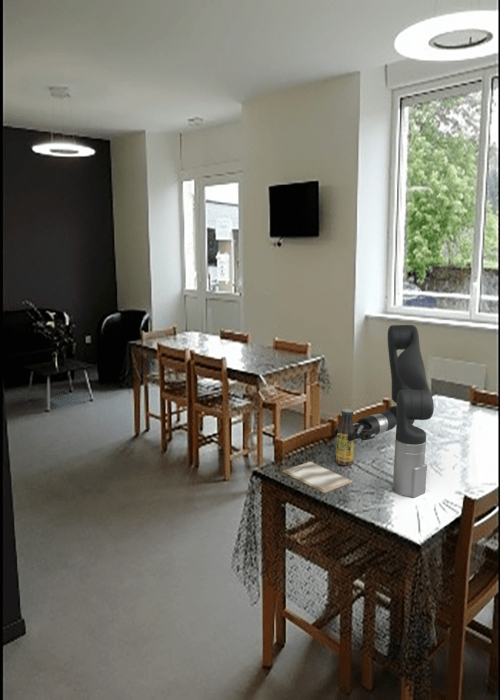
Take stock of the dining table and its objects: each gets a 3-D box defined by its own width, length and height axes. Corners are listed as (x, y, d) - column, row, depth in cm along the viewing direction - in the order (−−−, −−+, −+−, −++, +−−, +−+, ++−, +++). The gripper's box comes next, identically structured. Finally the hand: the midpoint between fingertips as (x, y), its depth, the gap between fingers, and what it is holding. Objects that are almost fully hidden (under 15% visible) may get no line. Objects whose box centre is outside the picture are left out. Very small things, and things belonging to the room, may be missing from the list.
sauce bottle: (333, 464, 199) (334, 411, 195) (339, 458, 204) (340, 406, 200) (351, 467, 196) (352, 413, 192) (356, 461, 201) (357, 408, 197)
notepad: (352, 482, 185) (352, 479, 185) (324, 493, 177) (324, 491, 177) (310, 462, 200) (310, 460, 200) (282, 472, 193) (282, 470, 192)
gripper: (358, 410, 211) (326, 420, 201) (389, 420, 200) (357, 431, 190) (357, 429, 212) (326, 439, 202) (387, 440, 201) (356, 451, 191)
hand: (341, 435), depth 196 cm, fingers closed on sauce bottle, 6 cm apart
